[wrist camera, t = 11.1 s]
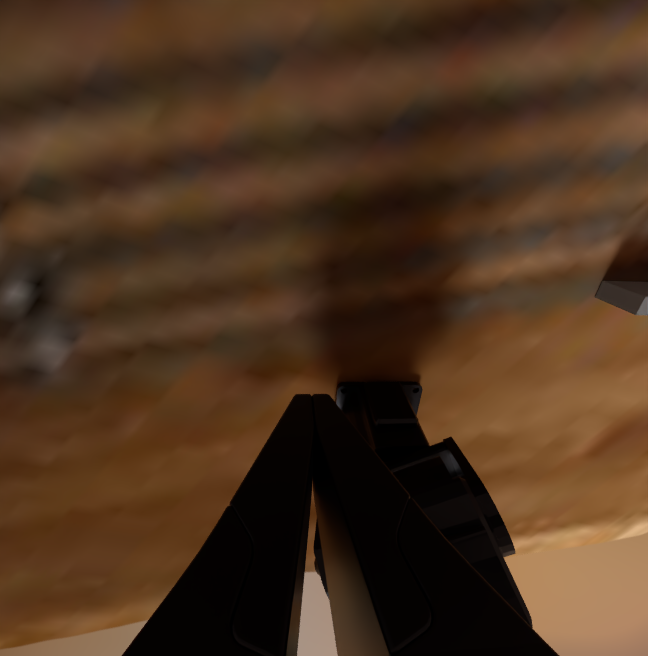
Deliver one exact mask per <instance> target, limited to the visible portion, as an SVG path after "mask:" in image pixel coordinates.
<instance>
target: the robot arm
mask: <svg viewBox="0 0 648 656" xmlns="http://www.w3.org/2000/svg"><path fill="white" fill-rule="evenodd" d="M343 388H346V390H341V389H343ZM414 388H417V389H415V390H413V389H414ZM421 394H422V387H421V385H420V383H418V382H343V383H340V384H339V385H338V386H337V392H336V403H335V402H334V400H333V399H332V398H331V397H330V395H328V394H314V395H313V396H311V395H310V394H296V395H295V396H294V397H293V399H292V400H291V402H290V404H289V405H288V407H287V409H286V410H285V412H284V414H283V415H282V417H281V419H280V420H279V422H278V424H277V425H276V427H275V429H274V430H273V432H272V434H271V435H270V437H269V439H268V440H267V442H266V443H265V445H264V447H263V448H262V450H261V452H260V453H259V455H258V457H257V458H256V460H255V462H254V463H253V465H252V467H251V468H250V470H249V472H248V473H247V475H246V477H245V478H244V480H243V482H242V483H241V485H240V487H239V488H238V490H237V491H236V493H235V495H234V496H233V498H232V500H231V501H230V506H228V507H227V508H226V509H225V511H224V513H223V514H222V516H221V518H220V519H219V521H218V523H217V524H216V526H215V527H214V529H213V530H212V532H211V534H210V535H209V537H208V538H207V540H206V541H205V543H204V544H203V546H202V548H201V549H200V551H199V552H198V554H197V555H196V556H195V558H194V559H193V561H192V562H191V563H190V565H189V566H188V567H187V569H186V570H185V572H184V573H183V574H182V576H181V577H180V579H179V580H178V581H177V583H176V584H175V586H174V587H173V588H172V590H171V591H170V592H169V594H168V595H167V596H166V598H165V599H164V600H163V602H162V603H161V604H160V605H159V607H158V608H157V609H156V611H155V612H154V613H153V615H152V616H151V617H150V619H149V620H148V621H147V623H146V624H145V625H144V627H143V628H142V629H141V631H140V632H139V633H138V635H137V636H136V637H135V639H134V640H133V641H132V643H131V644H130V645H129V647H128V648H127V649H126V651H125V652H124V653H123V655H122V656H297V648H298V637H299V627H300V626H299V625H300V616H301V604H302V593H303V583H304V572H305V561H306V550H307V539H308V528H309V517H310V506H311V494H312V481H313V492H314V500H315V507H316V513H317V522H316V531H315V540H314V554H315V557H316V558H315V562H314V564H315V570H316V572H317V574H319V575H320V576H321V580H322V584H323V586H324V589H325V592H326V594H327V596H328V598H329V600H330V607H331V614H332V620H333V627H334V633H335V641H336V647H337V654H338V656H559V655H558V654H557V653H556V652H555V651H554V650H553V649H552V648H551V647H550V646H549V645H548V644H547V643H546V642H545V641H544V640H543V639H542V638H541V637H540V636H539V635H538V634H537V633H536V632H535V631H534V630H533V629H532V620H531V616H530V614H529V611H528V609H527V607H526V605H525V603H524V600H523V598H522V596H521V594H520V592H519V590H518V588H517V586H516V583H515V581H514V579H513V577H512V575H511V573H510V571H509V568H508V566H507V564H506V562H505V560H504V558H503V557H506V556H509V555H512V554H515V549H514V546H513V543H512V540H511V538H510V535H509V533H508V531H507V529H506V526H505V524H504V522H503V520H502V518H501V516H500V514H499V512H498V510H497V508H496V506H495V504H494V502H493V500H492V499H491V497H490V495H489V493H488V491H487V490H486V488H485V486H484V484H483V483H482V481H481V480H480V478H479V477H478V475H477V474H476V472H475V471H474V469H473V468H472V466H471V465H470V463H469V462H468V460H467V459H466V458H465V456H464V455H463V453H462V452H461V450H460V449H459V447H458V446H457V444H456V443H455V441H454V440H453V438H452V437H449V438H446V439H443V442H440V443H437V444H434V445H432V446H430V445H429V443H428V441H427V439H426V437H425V435H424V432H423V430H422V428H421V426H420V424H419V422H418V418H417V416H416V415H417V411H418V406H419V402H420V398H421Z"/></svg>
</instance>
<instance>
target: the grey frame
mask: <svg viewBox="0 0 648 656" xmlns="http://www.w3.org/2000/svg"><path fill="white" fill-rule="evenodd" d="M595 297H596V298H598V299H600V300H603V301H605V302H607V303H609V304H612V305H614V306H616V307H619V308H621V309H623V310H625V311H628V312H630V313H632V314H635V315H648V282H634V281H602V283H601V285H600V287H599V290H598V292H597V294H596V296H595Z"/></svg>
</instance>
